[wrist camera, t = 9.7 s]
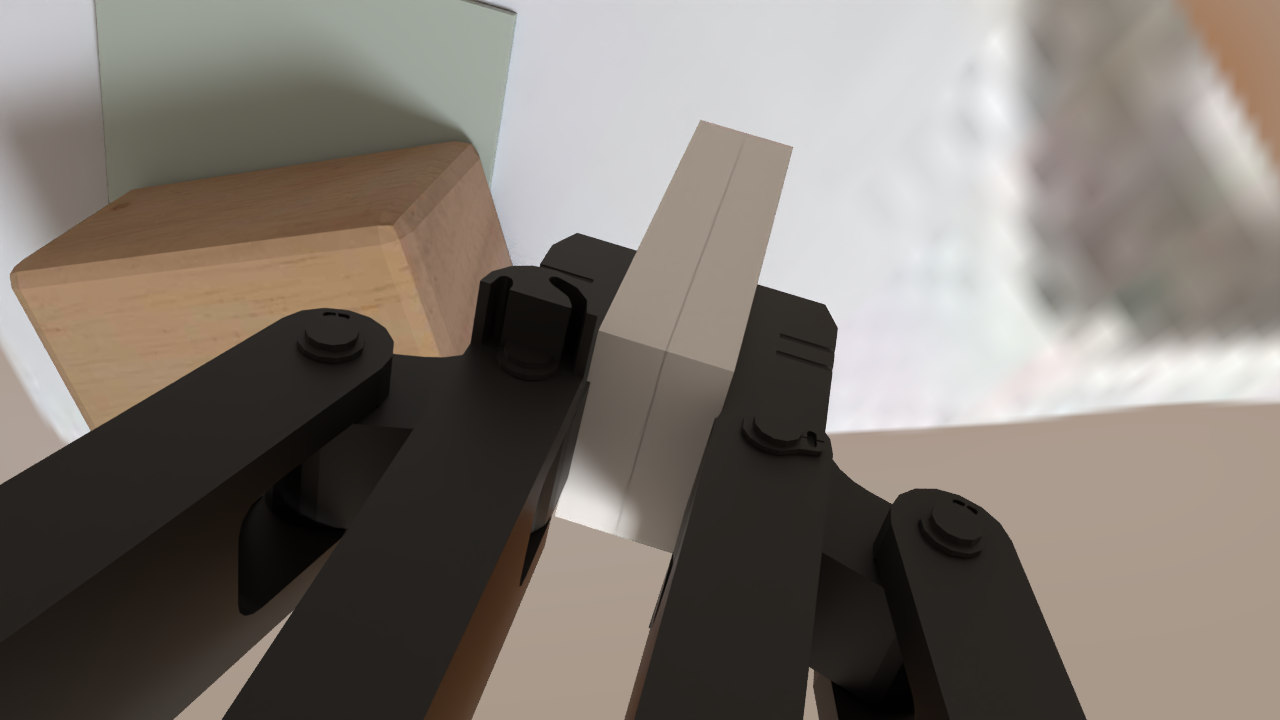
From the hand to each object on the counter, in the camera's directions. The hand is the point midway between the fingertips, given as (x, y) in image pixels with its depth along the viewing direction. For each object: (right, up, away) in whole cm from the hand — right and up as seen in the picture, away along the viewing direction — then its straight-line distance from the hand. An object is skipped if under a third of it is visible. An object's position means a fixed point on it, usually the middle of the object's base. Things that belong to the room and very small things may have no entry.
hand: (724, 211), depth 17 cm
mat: (-18, +9, +35) cm, 41 cm away
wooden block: (-8, +1, +31) cm, 32 cm away
